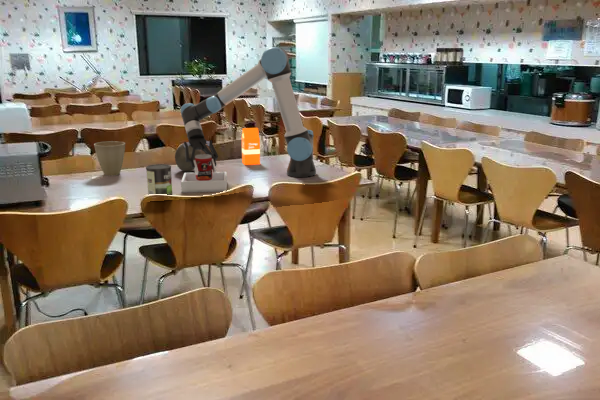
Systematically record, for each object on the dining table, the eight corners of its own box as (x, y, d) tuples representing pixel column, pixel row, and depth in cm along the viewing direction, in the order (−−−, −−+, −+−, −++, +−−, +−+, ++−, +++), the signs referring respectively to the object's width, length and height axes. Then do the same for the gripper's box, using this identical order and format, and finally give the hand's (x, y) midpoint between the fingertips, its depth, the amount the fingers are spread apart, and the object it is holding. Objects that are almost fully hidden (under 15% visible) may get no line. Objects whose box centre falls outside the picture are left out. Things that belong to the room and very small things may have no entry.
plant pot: (115, 178, 264) (112, 146, 260) (90, 176, 268) (87, 144, 264) (133, 172, 277) (131, 142, 273) (109, 170, 282) (107, 140, 278)
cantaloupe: (170, 173, 275) (168, 144, 271) (182, 168, 288) (181, 140, 284) (195, 175, 272) (194, 146, 268) (207, 169, 285) (205, 141, 281)
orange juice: (242, 162, 304) (241, 127, 298) (257, 161, 306) (256, 126, 301) (244, 165, 296) (243, 129, 291) (260, 164, 299) (259, 128, 293)
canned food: (196, 181, 243) (195, 157, 240) (195, 177, 251) (194, 154, 248) (213, 180, 245) (212, 157, 242) (211, 176, 253) (210, 153, 250)
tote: (227, 181, 259) (226, 171, 257) (226, 191, 241) (226, 180, 240) (185, 182, 256) (184, 172, 255) (181, 192, 239) (180, 181, 238)
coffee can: (176, 196, 233) (175, 164, 230) (166, 202, 224) (164, 169, 220) (155, 194, 235) (152, 163, 232) (143, 201, 226) (141, 168, 222)
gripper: (213, 135, 261) (225, 175, 251) (172, 138, 252) (182, 179, 242) (217, 126, 255) (229, 166, 245) (174, 129, 246) (185, 170, 236)
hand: (206, 172), depth 244 cm, fingers closed on canned food, 8 cm apart
